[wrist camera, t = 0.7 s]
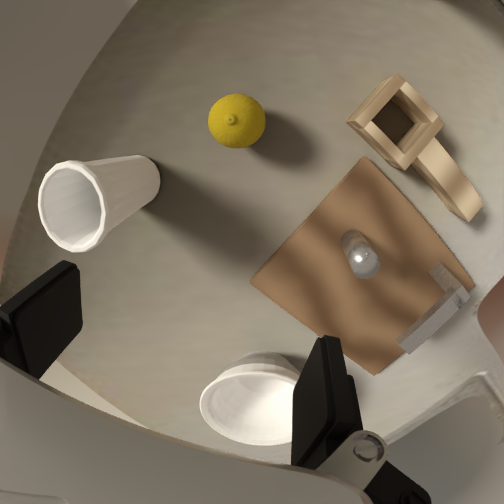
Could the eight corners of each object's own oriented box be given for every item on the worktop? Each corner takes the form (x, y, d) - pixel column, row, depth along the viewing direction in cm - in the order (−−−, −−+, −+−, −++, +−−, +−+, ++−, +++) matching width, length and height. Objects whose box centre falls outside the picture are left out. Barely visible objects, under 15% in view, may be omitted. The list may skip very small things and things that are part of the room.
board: (363, 156, 32) (365, 156, 31) (471, 281, 36) (474, 284, 35) (250, 278, 39) (249, 282, 38) (372, 370, 43) (374, 375, 42)
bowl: (247, 415, 49) (241, 454, 41) (191, 353, 45) (175, 393, 37) (333, 385, 45) (338, 427, 37) (285, 312, 41) (284, 354, 33)
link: (345, 122, 31) (355, 120, 27) (383, 80, 29) (398, 73, 24) (439, 222, 34) (458, 234, 29) (472, 183, 32) (493, 191, 27)
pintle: (352, 224, 34) (366, 246, 28) (368, 240, 35) (385, 264, 28) (335, 241, 35) (346, 267, 29) (352, 256, 36) (365, 284, 29)
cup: (103, 160, 36) (27, 180, 22) (157, 137, 34) (89, 146, 21) (122, 219, 38) (55, 262, 25) (177, 201, 37) (121, 242, 23)
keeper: (439, 261, 35) (462, 285, 28) (448, 272, 35) (471, 296, 29) (384, 314, 38) (398, 345, 32) (395, 324, 38) (409, 354, 32)
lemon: (215, 102, 32) (195, 94, 25) (264, 95, 31) (258, 84, 24) (221, 149, 34) (203, 154, 26) (270, 143, 33) (266, 146, 26)
